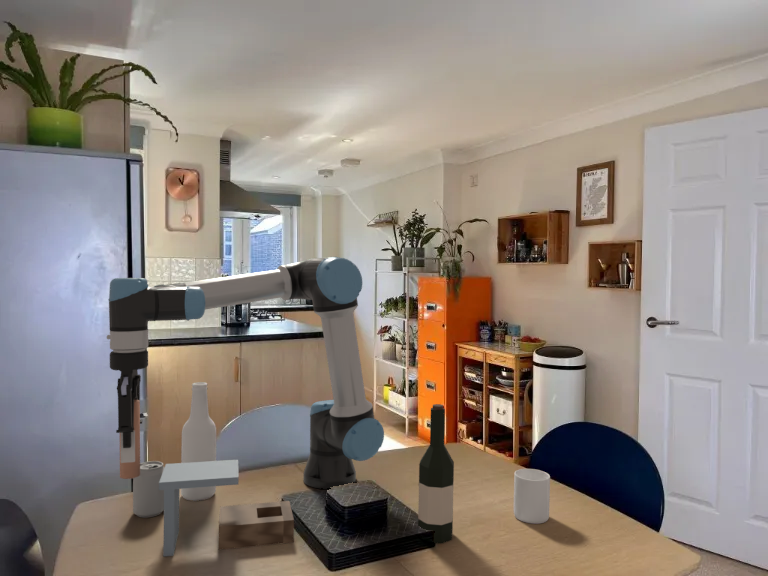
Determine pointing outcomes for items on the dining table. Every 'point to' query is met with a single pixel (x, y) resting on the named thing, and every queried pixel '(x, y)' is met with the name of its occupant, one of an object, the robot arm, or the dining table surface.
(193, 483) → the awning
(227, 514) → the socket
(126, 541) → the dining table surface
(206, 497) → the alcohol
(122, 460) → the robot arm
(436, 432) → the wine bottle
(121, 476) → the peg
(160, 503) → the can
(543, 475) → the mug
